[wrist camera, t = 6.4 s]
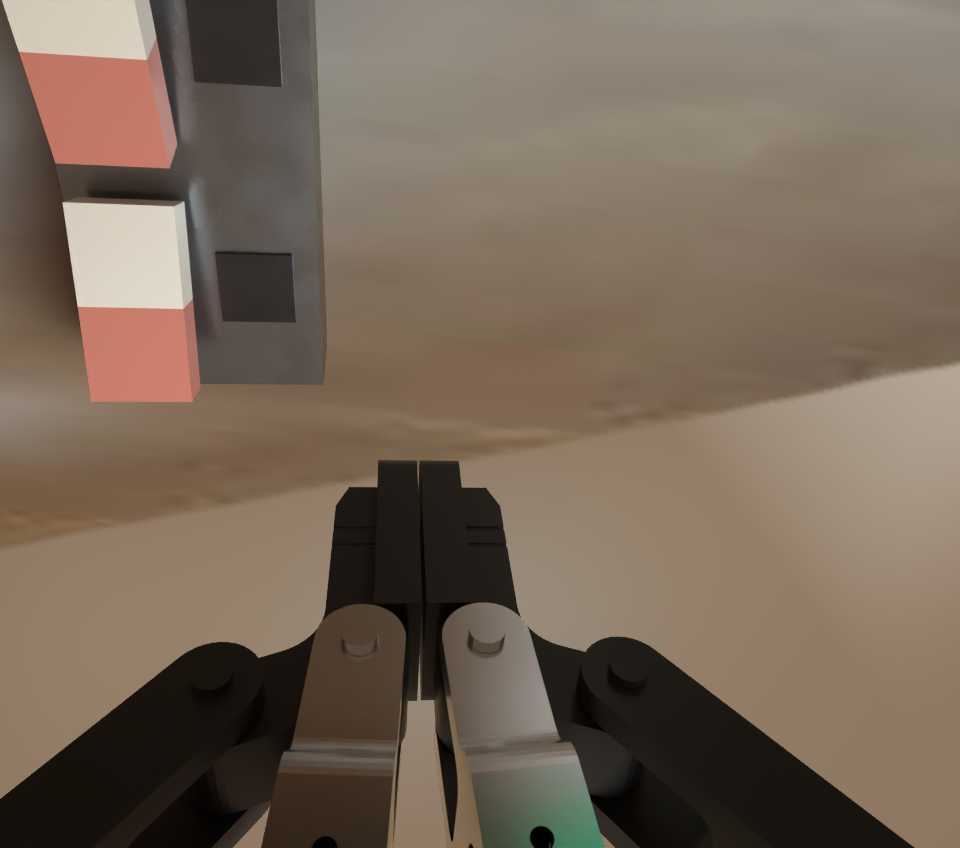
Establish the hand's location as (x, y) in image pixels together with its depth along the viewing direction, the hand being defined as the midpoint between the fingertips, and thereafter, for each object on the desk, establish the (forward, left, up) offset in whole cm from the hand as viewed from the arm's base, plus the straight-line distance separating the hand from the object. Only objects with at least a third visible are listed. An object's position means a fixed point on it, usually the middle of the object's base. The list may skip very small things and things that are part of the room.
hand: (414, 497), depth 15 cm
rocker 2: (+10, +5, -20) cm, 23 cm away
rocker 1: (+10, -5, -20) cm, 23 cm away
